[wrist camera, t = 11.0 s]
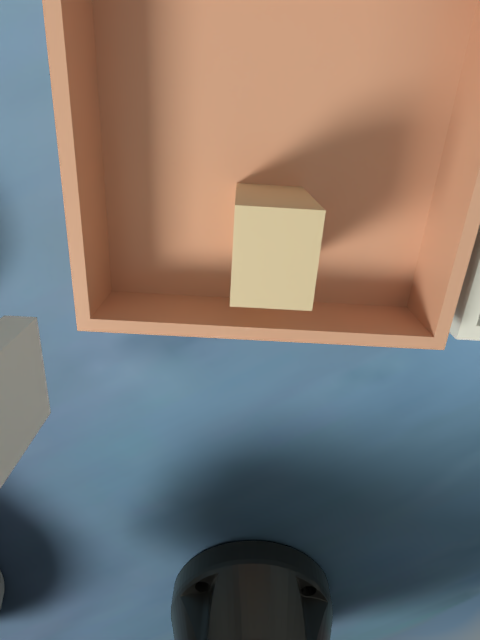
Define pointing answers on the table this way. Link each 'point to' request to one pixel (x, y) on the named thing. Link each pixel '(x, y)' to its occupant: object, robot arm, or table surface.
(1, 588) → the grey compartment organizer
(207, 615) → the robot arm
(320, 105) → the orange square tray
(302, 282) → the tall cardboard carton
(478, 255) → the parts tray
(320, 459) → the table surface
